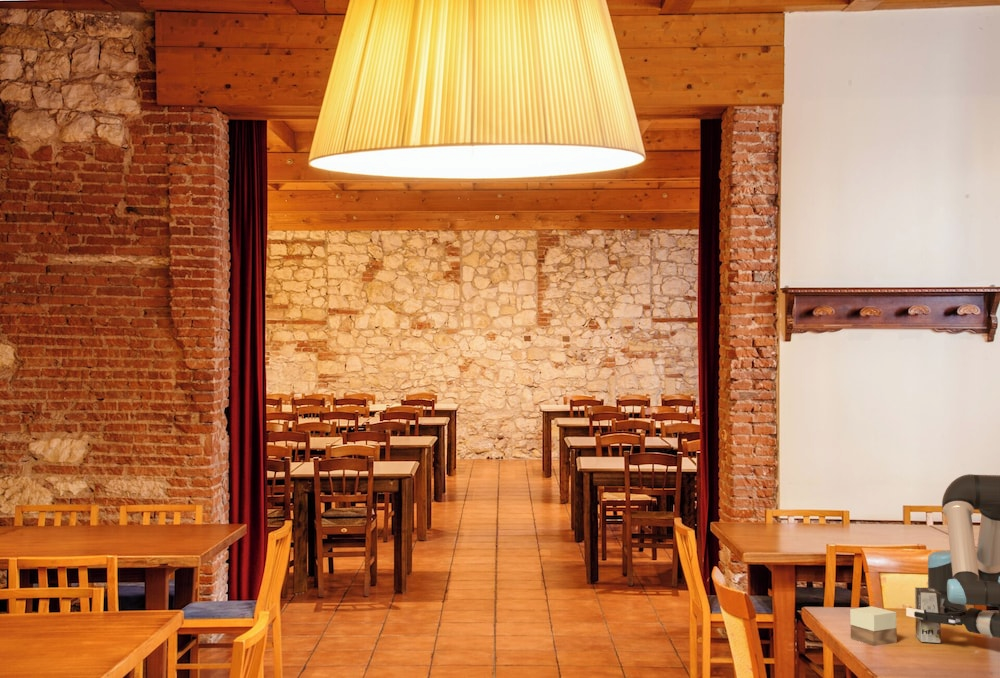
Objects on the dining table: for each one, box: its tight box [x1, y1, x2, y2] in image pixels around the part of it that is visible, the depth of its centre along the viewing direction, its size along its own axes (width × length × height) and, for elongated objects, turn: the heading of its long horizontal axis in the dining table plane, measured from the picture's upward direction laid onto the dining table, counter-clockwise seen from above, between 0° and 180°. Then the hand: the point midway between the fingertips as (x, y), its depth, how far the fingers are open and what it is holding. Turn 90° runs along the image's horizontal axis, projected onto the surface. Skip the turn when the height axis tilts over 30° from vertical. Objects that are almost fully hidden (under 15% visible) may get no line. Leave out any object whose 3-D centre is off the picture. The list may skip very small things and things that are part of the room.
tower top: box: [849, 605, 897, 631], centre depth 340 cm, size 10×10×5 cm
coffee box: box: [914, 587, 942, 644], centre depth 341 cm, size 9×6×16 cm
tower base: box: [850, 625, 898, 647], centre depth 340 cm, size 10×10×5 cm
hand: (916, 609), depth 344 cm, fingers closed on coffee box, 10 cm apart
